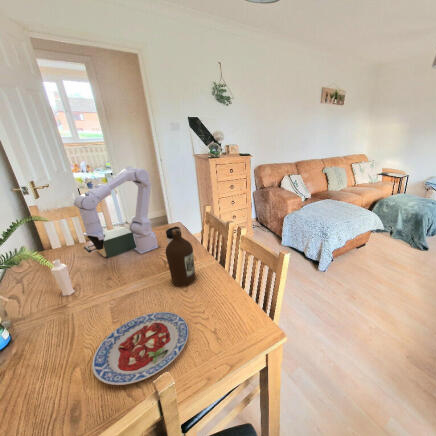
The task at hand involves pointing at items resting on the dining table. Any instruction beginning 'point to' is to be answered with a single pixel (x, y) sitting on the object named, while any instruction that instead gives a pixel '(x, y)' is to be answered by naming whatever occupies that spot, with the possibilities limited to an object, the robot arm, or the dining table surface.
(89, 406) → the dining table surface
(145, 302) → the dining table surface
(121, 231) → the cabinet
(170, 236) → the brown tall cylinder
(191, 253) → the brown bottle
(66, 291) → the perfume bottle
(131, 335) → the ceramic plate
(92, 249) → the drawer
